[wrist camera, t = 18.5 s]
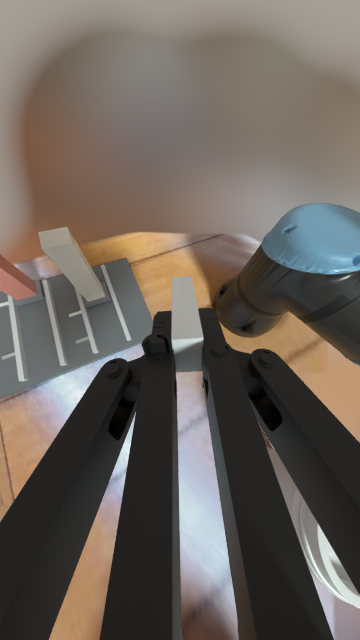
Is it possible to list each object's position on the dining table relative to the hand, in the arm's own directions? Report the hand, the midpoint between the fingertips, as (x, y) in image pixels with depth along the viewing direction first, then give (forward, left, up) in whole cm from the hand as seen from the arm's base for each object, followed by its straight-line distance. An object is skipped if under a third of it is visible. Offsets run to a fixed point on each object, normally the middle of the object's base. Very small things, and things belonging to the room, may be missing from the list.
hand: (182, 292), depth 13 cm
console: (+16, -14, -23) cm, 31 cm away
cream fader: (+10, -16, -21) cm, 28 cm away
